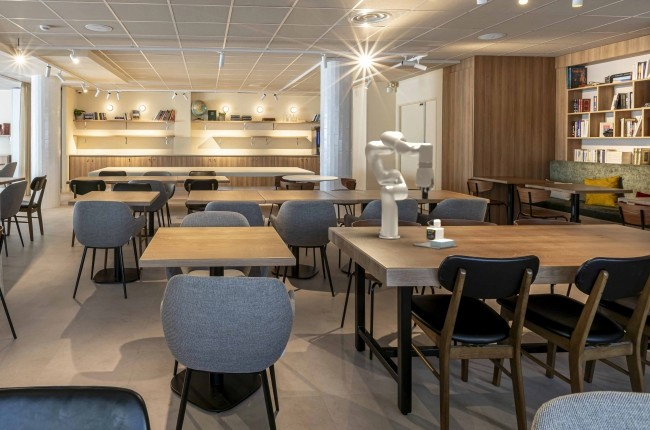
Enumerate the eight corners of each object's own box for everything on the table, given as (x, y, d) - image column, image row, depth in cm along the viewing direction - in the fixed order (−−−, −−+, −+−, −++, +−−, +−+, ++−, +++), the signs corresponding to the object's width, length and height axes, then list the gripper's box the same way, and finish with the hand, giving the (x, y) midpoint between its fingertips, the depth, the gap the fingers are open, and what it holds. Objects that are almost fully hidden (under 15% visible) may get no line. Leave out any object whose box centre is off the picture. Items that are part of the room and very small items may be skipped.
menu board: (430, 240, 340) (441, 242, 334) (443, 238, 347) (454, 240, 341) (430, 246, 340) (441, 247, 334) (443, 244, 347) (454, 245, 341)
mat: (412, 245, 347) (412, 244, 347) (432, 242, 357) (432, 241, 357) (438, 249, 333) (438, 248, 333) (457, 246, 343) (457, 245, 343)
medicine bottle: (426, 240, 366) (426, 219, 365) (434, 239, 370) (435, 218, 369) (435, 241, 361) (435, 220, 359) (443, 240, 365) (444, 219, 363)
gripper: (410, 165, 349) (410, 198, 351) (431, 166, 338) (430, 200, 340) (420, 165, 354) (419, 198, 356) (440, 166, 343) (439, 199, 345)
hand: (424, 199), depth 348 cm, fingers closed
